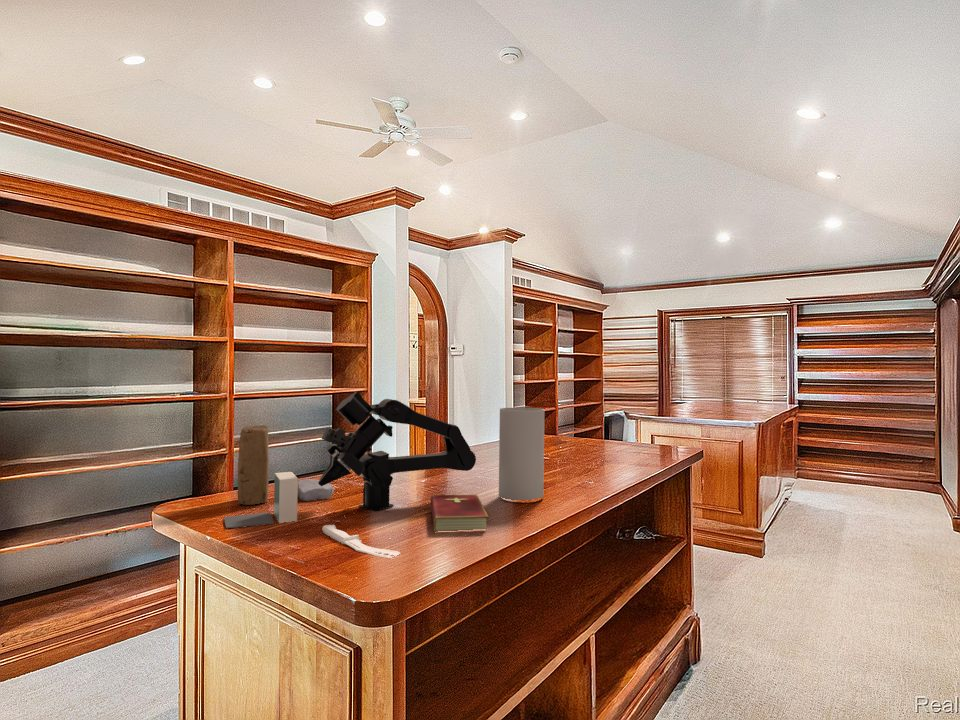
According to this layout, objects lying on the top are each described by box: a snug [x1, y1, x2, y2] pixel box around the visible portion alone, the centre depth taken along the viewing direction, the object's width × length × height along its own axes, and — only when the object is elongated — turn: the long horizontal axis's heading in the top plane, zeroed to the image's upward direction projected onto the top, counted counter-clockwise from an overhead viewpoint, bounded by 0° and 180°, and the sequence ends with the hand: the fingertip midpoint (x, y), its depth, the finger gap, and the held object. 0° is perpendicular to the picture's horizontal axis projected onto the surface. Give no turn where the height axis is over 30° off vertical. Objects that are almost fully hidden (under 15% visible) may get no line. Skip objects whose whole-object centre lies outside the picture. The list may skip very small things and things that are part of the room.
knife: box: [321, 524, 401, 559], centre depth 110 cm, size 30×2×8 cm
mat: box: [223, 512, 275, 530], centre depth 126 cm, size 10×10×1 cm
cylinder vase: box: [498, 407, 545, 500], centre depth 153 cm, size 12×12×25 cm
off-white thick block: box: [273, 471, 299, 524], centre depth 130 cm, size 4×9×10 cm, turn 28°
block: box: [237, 425, 270, 506], centre depth 145 cm, size 11×8×20 cm
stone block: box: [297, 478, 335, 502], centre depth 153 cm, size 12×5×10 cm
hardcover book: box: [430, 494, 489, 532], centre depth 130 cm, size 12×21×4 cm, turn 7°
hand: (319, 484), depth 134 cm, fingers closed
